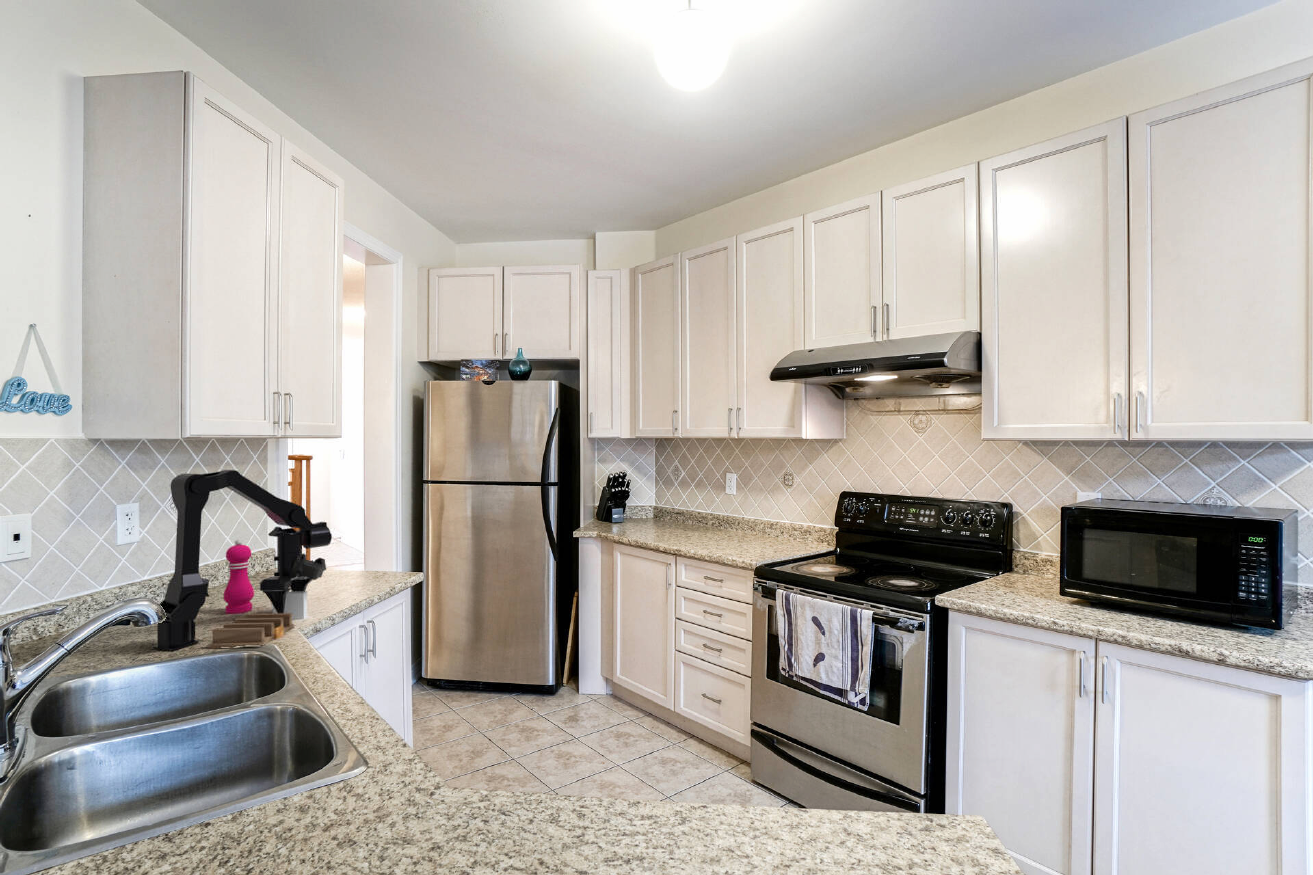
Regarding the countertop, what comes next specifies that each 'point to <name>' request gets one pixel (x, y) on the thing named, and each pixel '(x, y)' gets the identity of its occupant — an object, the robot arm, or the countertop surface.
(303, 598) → the panel
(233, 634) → the rack
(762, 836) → the countertop surface
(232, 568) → the pepper mill
